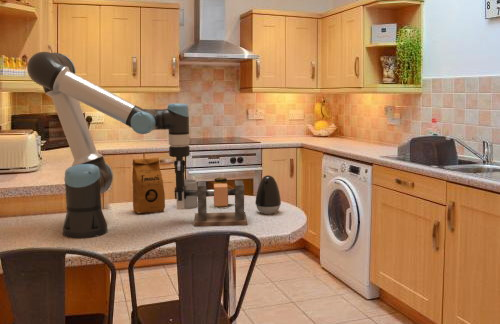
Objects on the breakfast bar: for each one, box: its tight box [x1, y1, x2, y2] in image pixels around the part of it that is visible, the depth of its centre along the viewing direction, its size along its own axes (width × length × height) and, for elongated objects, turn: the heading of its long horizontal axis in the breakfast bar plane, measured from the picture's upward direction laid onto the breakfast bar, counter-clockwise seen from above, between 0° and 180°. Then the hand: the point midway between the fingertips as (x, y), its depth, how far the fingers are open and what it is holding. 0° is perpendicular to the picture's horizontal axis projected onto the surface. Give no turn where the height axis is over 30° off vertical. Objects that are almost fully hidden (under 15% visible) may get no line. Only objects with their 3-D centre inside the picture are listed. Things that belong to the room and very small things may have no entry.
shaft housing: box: [193, 180, 248, 228], centre depth 205 cm, size 20×14×14 cm
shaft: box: [174, 187, 236, 200], centre depth 204 cm, size 24×4×4 cm, turn 94°
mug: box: [183, 178, 198, 210], centre depth 231 cm, size 12×8×11 cm
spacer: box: [213, 183, 229, 206], centre depth 204 cm, size 5×7×7 cm
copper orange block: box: [210, 177, 235, 209], centre depth 230 cm, size 7×8×12 cm
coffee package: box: [131, 157, 166, 214], centre depth 220 cm, size 10×12×22 cm
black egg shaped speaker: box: [254, 175, 282, 215], centre depth 217 cm, size 10×10×15 cm
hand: (180, 207), depth 204 cm, fingers closed on shaft, 4 cm apart
